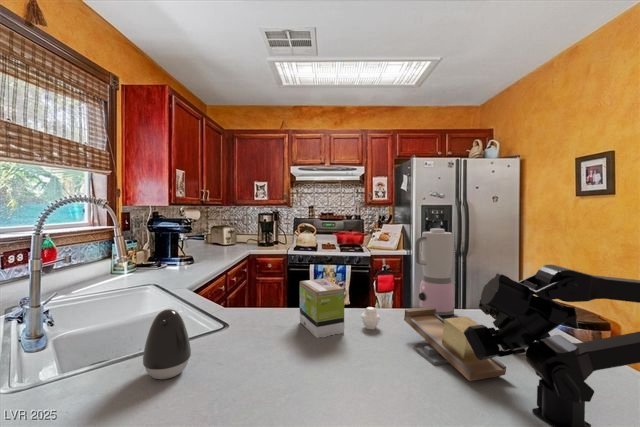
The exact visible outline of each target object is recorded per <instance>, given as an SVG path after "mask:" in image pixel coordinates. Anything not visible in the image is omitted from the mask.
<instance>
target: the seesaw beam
mask: <svg viewBox="0 0 640 427" xmlns="http://www.w3.org/2000/svg"><path fill="white" fill-rule="evenodd" d="M403 321H404V322H405V323H407V325H409V326H410V327H411V328H412V329H413V330H414V331H415V332H416V333H417V334H419V335H420V337H422V339H424V340H425V342H427V343H428V344H429V346H432V347H434V348H435V349H436V350H437V351H438V352H439V353H440V354H441V355H442V356H443V357H444V358H445V359H446V360H448V361H449V362H450V365H452V367H454V369H456V370H457V371H458V372H459V373H460V374H461V375H463V376H464V378H466V379H467V380H468V381H469V382H471V381H472V382H473V381H476V380H484V379H489V378H495V377H500V376H504V375H505V376H506V374H507V366H506V365H504V364H503V363H502V362H501V361H499V360H498V359H497V358H496V357H493V358H491V359H485V360H478V361H471V362H465V363H463V362H462V361H461V360H459V359H458V358H457V357H456V356H455V355H454V354H453V353H451V352H450V351H449V350H448V349H447V348H446V347H445V346H443V345H442V336H443V327H444V318H442V317H441V316H440V315H437V314H436V309H435V308H434V307H426V308H420V307H418V308H405V309H404V317H403Z"/></svg>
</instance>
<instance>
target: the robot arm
mask: <svg viewBox="0 0 640 427" xmlns="http://www.w3.org/2000/svg"><path fill="white" fill-rule="evenodd" d="M556 300H559V301H561V302H565V303H581V302H586V303H587V302H590V301H595V300H612V301H620V302H629V303H637V304H638V303H639V304H640V279H633V278H623V277H615V276H613V277H612V276H604V275H593V274H590V273H586V272H582V271H578V270H575V269H570V268H566V267H563V266H559V265H555V264H544V265H542V267H541V268H539V269H538V270H537V271H536V273H534V274H532V275H530V276H528V277H525V278H523V279H521V280H519V281H516V280H513V279H512V278H510V277H509V276H508V275H506V274H504V273H501V272H496V274H495V276H494V277H492V278H491V279H490V280H489V281H488V282H487V283H486V284H485V285H484V286H483V289H482V292H481V296H480V299H479V304H478V308H479V309H480V310H481V311H482V312H483V313H484V314H485V315H486V316H487V315H488V316H490V317H492V319H494V321H492V324H493V327H488V326H486V325H484V324H479V325H476V326H469V327H468V328H467V329H465V330H464V335H465V336H466V338H467V340H468V342H469V344H470V346H471V348H472V350H473V352H474V353H475V355H476V357H477V358H478V359H479V360H485V359H491V358H493V357H494V358H496V357H499V358H501V357H502V358H503V357H507V356H511V355H517V354H520V353H525V352H526V354H524V355H525V360H526V362H527V363H528V365H529V366H530V367H531V368H532V369H533V370H534V372H535V374H536V376H538V377H539V378H540V379H538V385H537V386H536V407H535V408H532V413H533V414H534V415H536V416H537V417H539V418H540V419H542V420H543V421H545V422H547V423H548V424H549V425H551V426H552V427H592V424H591V423H590V422H588V421H586V419H585V417H586V416H585V415H586V411H585V410H586V409H585V408H586V402H587V403H590V402H591V401H592V398H593V397H594V394H595V390H594V389H593V388H592V387H590V385H589V384H587V382H586V380H587V379H588V378H589V377H591V375H592V374H593V373H594V372H595V371H602V370H607V369H612V368H619V367H624V366H628V365H629V366H630V365H636V364H640V331H634V332H629V333H625V334H619V335H615V336H610V337H604V338H598V339H594V340H593V339H592V340H588V341H587V340H586V341H583V342H571V341H570V340H568V339H567V338H565V337H564V336H563V335H560V334H554V335H550V332H552V331H554V330H555V329H556V328H559V326H561V325H565V326H568V327H570V328H572V329H575V330H577V329H579V323H578V319H577V318H578V315H577V311H576V308H575V306H567V305H564V304H562V303H560V302H558V301H556ZM524 348H527V350H526V351H525V349H524Z"/></svg>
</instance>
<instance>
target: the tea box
mask: <svg viewBox="0 0 640 427" xmlns="http://www.w3.org/2000/svg"><path fill="white" fill-rule="evenodd" d="M299 323H301V324H302V325H303V326H304V327H305V328H306V329H307V330H308V331H309V332H310V333H311V334H312V335H313V336H314V338H316V339H320V338H319V337H322V338H325V337H324V336H328V337H331V336H330V335H333V336H336V335H335V334H338V335H342V334H344V333H345V287H342V286H340V285H338V284H336V283H334V282H332V281H330V280H329V279H326V278H317V279H309V280H308V279H307V280H300V281H299ZM341 333H342V334H341Z"/></svg>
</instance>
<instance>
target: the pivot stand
mask: <svg viewBox="0 0 640 427" xmlns="http://www.w3.org/2000/svg"><path fill="white" fill-rule="evenodd" d="M415 350H416V351H415V352H417V353H418V354H420V355H421V356H422V357H424V358H425V359H426V360H427V361H428V362H430V363H431V364H432V365H433V366H437V365H444V364H449V363H450V362H449V361H448V360H446V359H445V358H444V357H443V356H442V355H441V354H440V353H439V352H438V351H437V350H436V349H435V348H434V347H432V346H431V345H426V346H422V347H416V349H415ZM450 364H451V363H450Z"/></svg>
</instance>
